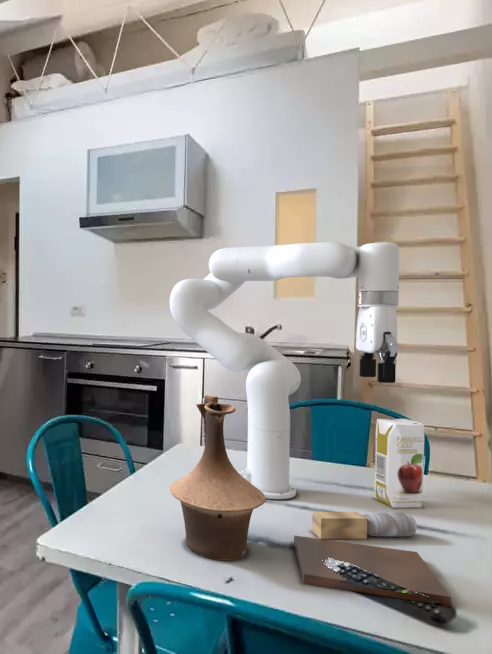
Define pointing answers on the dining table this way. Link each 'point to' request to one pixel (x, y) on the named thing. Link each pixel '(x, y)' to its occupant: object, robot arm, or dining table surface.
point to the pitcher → (216, 494)
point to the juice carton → (399, 462)
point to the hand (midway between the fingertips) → (376, 379)
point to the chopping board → (369, 568)
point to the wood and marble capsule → (361, 524)
